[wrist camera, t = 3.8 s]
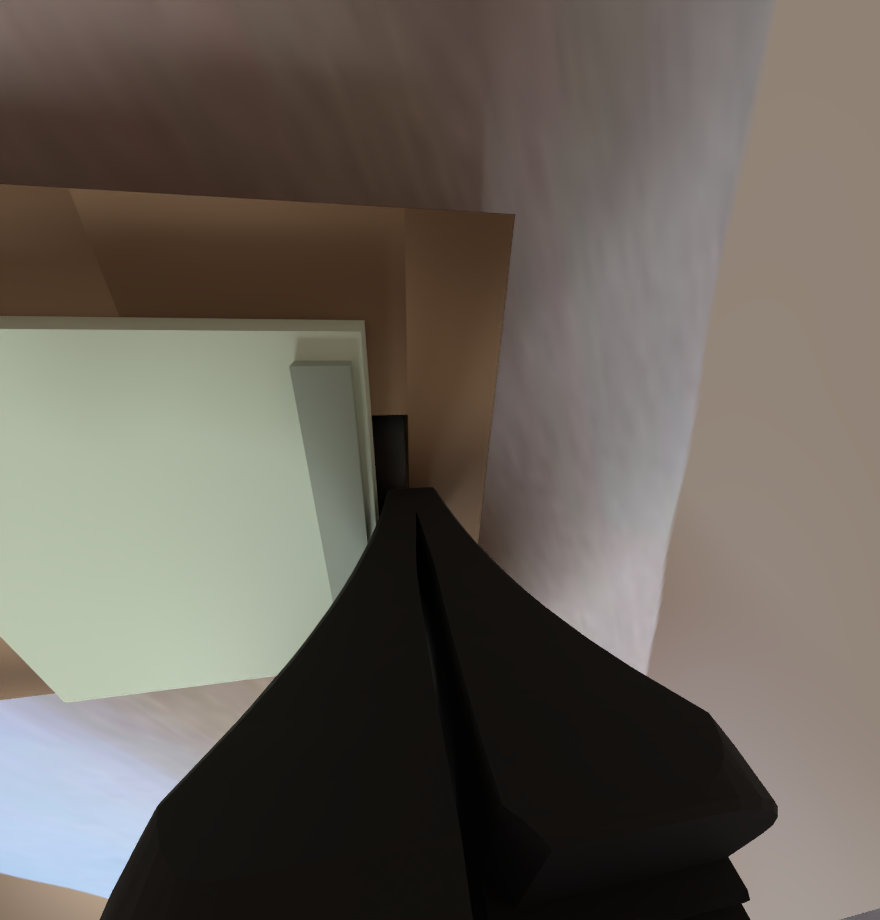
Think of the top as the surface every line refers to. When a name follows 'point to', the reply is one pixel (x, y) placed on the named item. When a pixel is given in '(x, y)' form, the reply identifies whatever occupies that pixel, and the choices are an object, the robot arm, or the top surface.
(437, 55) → the top surface
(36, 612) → the cover
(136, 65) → the top surface
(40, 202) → the board
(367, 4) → the top surface
